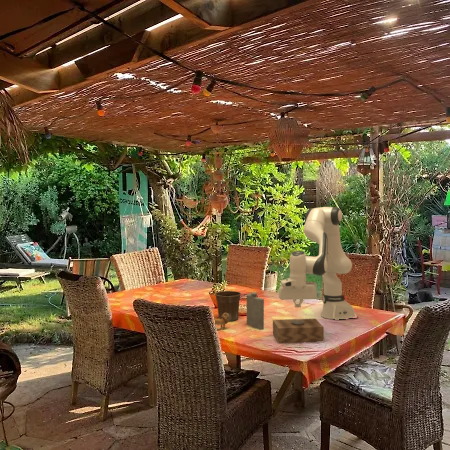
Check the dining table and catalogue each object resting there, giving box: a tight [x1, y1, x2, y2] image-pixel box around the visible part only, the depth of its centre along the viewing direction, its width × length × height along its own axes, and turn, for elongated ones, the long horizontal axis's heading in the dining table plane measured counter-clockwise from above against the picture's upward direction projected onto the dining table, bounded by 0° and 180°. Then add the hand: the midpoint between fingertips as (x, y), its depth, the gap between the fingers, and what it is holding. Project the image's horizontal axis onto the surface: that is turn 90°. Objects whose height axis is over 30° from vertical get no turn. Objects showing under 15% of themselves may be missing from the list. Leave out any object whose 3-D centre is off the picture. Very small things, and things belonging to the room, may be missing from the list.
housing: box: [272, 318, 325, 344], centre depth 251 cm, size 24×16×8 cm, turn 95°
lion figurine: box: [213, 313, 229, 330], centre depth 267 cm, size 15×5×9 cm, turn 123°
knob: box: [291, 320, 304, 325], centre depth 250 cm, size 7×7×7 cm
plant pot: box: [214, 290, 242, 322], centre depth 288 cm, size 16×16×16 cm
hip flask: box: [246, 291, 265, 331], centre depth 272 cm, size 16×4×20 cm, turn 29°
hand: (297, 307), depth 250 cm, fingers closed
